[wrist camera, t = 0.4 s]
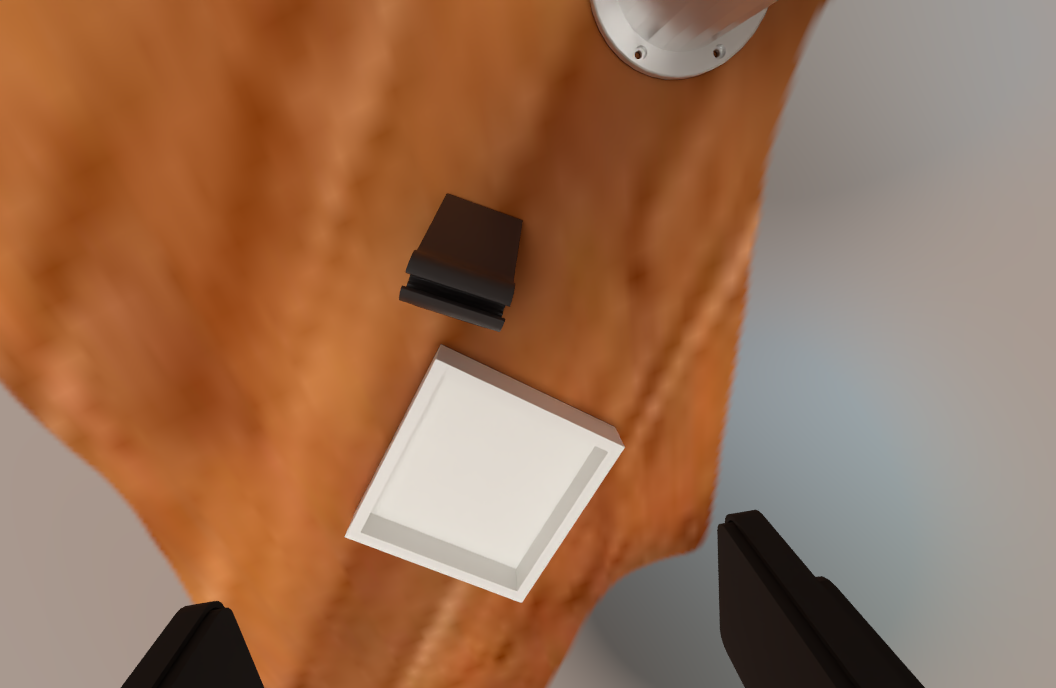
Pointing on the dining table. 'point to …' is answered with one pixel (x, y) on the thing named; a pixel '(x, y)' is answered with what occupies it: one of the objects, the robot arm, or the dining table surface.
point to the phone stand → (465, 264)
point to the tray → (483, 477)
